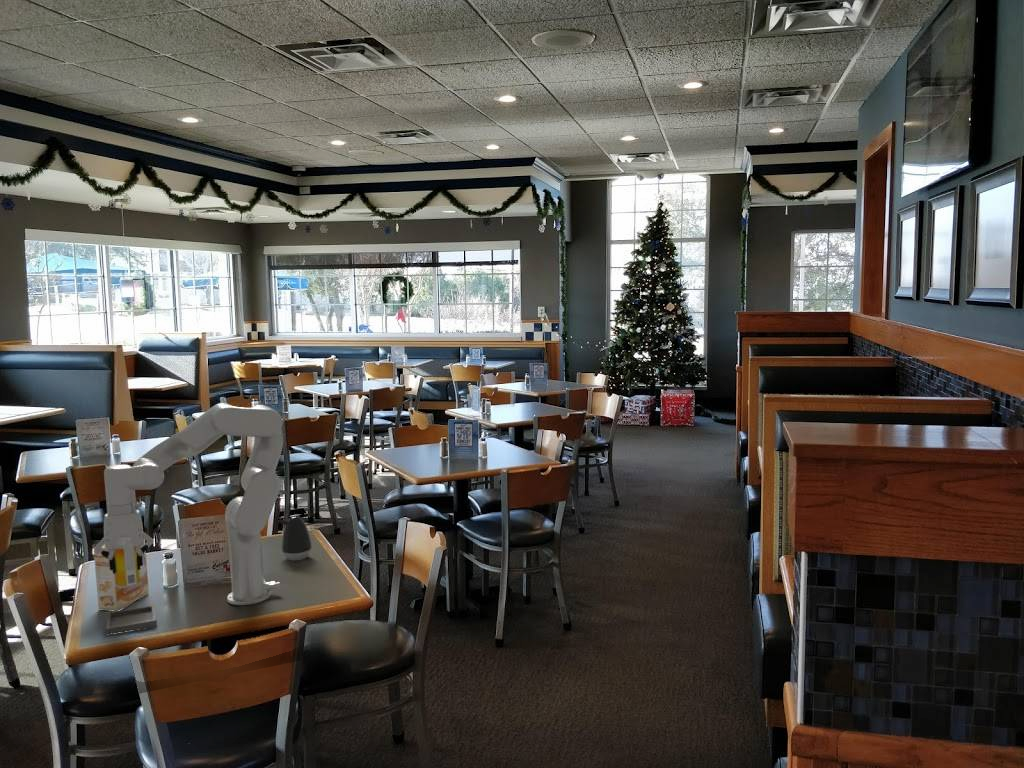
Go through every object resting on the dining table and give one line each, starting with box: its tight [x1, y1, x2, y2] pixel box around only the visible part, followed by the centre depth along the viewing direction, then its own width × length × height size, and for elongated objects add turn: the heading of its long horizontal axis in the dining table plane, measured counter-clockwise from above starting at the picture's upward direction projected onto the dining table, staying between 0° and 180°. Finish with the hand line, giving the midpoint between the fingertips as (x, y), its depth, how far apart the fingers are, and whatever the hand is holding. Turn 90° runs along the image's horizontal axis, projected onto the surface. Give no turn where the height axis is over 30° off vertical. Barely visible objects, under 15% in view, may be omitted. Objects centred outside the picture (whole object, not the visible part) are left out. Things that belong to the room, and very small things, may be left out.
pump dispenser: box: [278, 515, 313, 562], centre depth 297 cm, size 10×10×15 cm
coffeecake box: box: [93, 539, 150, 611], centre depth 260 cm, size 15×7×20 cm, turn 167°
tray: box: [105, 604, 158, 635], centre depth 245 cm, size 13×13×2 cm
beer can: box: [114, 536, 140, 588], centre depth 243 cm, size 6×6×15 cm
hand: (126, 569), depth 243 cm, fingers closed on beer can, 5 cm apart
